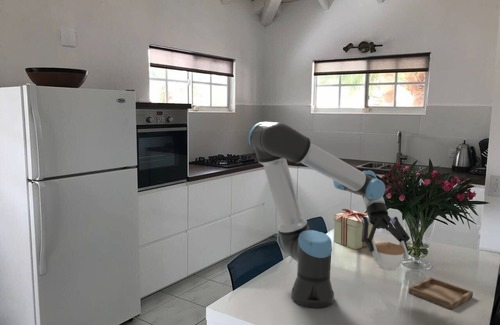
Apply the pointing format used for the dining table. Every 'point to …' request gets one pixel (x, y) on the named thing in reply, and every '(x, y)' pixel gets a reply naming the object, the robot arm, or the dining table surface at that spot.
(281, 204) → the robot arm
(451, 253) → the dining table surface
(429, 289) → the walnut tray
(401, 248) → the lidded jar
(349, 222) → the gift box
